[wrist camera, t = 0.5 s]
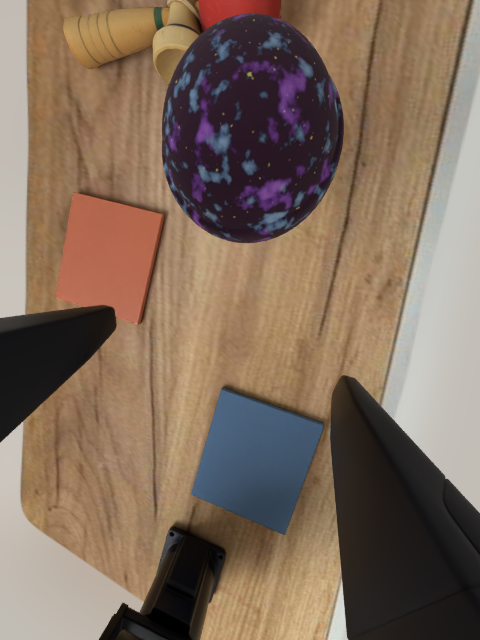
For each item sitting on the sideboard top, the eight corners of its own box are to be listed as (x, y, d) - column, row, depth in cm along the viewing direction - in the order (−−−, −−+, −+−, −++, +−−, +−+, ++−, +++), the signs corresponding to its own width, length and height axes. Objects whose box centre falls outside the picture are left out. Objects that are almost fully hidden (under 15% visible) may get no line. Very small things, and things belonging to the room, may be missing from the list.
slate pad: (284, 530, 23) (284, 535, 22) (192, 490, 24) (190, 494, 23) (323, 423, 21) (324, 425, 21) (222, 387, 22) (221, 389, 22)
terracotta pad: (140, 324, 23) (137, 324, 23) (59, 297, 25) (55, 297, 24) (164, 216, 22) (162, 214, 21) (77, 194, 23) (73, 191, 23)
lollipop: (281, 286, 21) (286, 254, 6) (216, 253, 21) (76, 150, 7) (320, 215, 19) (445, -44, 5) (250, 183, 20) (172, -128, 6)
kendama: (104, 123, 23) (277, 96, 18) (34, 47, 17) (262, -28, 12) (119, 56, 24) (291, 10, 19) (55, -42, 18) (283, -151, 13)
